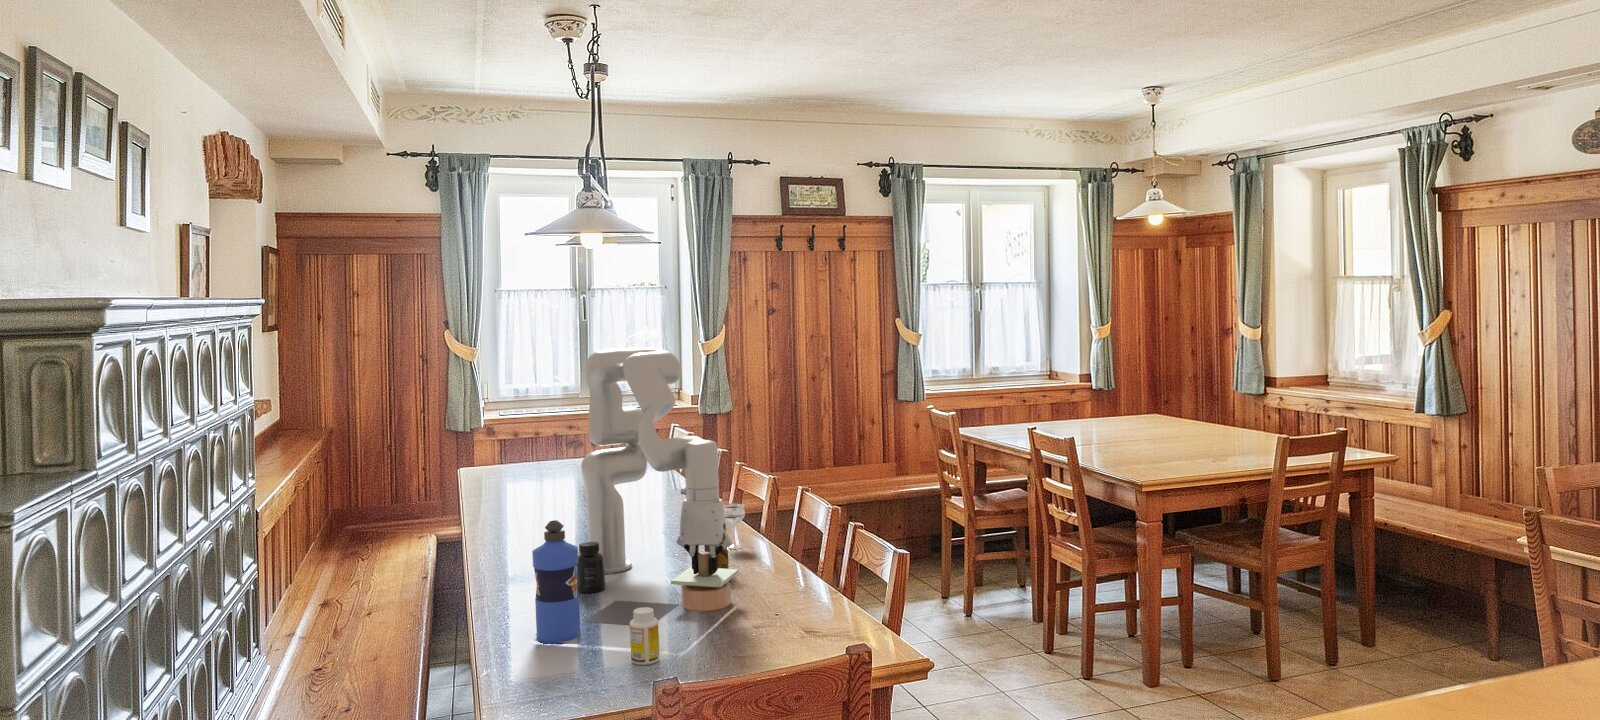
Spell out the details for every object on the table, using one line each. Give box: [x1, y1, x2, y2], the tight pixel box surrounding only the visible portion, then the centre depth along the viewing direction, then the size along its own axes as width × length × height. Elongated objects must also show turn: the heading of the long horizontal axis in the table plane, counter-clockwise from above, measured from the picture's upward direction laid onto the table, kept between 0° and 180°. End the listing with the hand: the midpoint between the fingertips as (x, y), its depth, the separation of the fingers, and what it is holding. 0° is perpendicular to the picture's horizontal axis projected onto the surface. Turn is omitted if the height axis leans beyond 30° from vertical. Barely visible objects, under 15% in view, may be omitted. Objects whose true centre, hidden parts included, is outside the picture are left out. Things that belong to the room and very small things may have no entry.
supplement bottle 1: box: [576, 541, 606, 595], centre depth 250 cm, size 7×7×12 cm
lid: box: [670, 551, 739, 587], centre depth 236 cm, size 12×12×6 cm
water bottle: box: [532, 520, 582, 645], centre depth 216 cm, size 9×9×25 cm
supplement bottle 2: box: [629, 607, 660, 666], centre depth 201 cm, size 6×6×10 cm
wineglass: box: [723, 502, 746, 548], centre depth 290 cm, size 7×7×12 cm
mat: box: [583, 600, 680, 626], centre depth 231 cm, size 16×16×1 cm
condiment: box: [703, 541, 730, 569], centre depth 263 cm, size 7×8×12 cm
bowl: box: [680, 580, 732, 612], centre depth 236 cm, size 11×11×5 cm
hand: (705, 572), depth 236 cm, fingers closed on lid, 3 cm apart
